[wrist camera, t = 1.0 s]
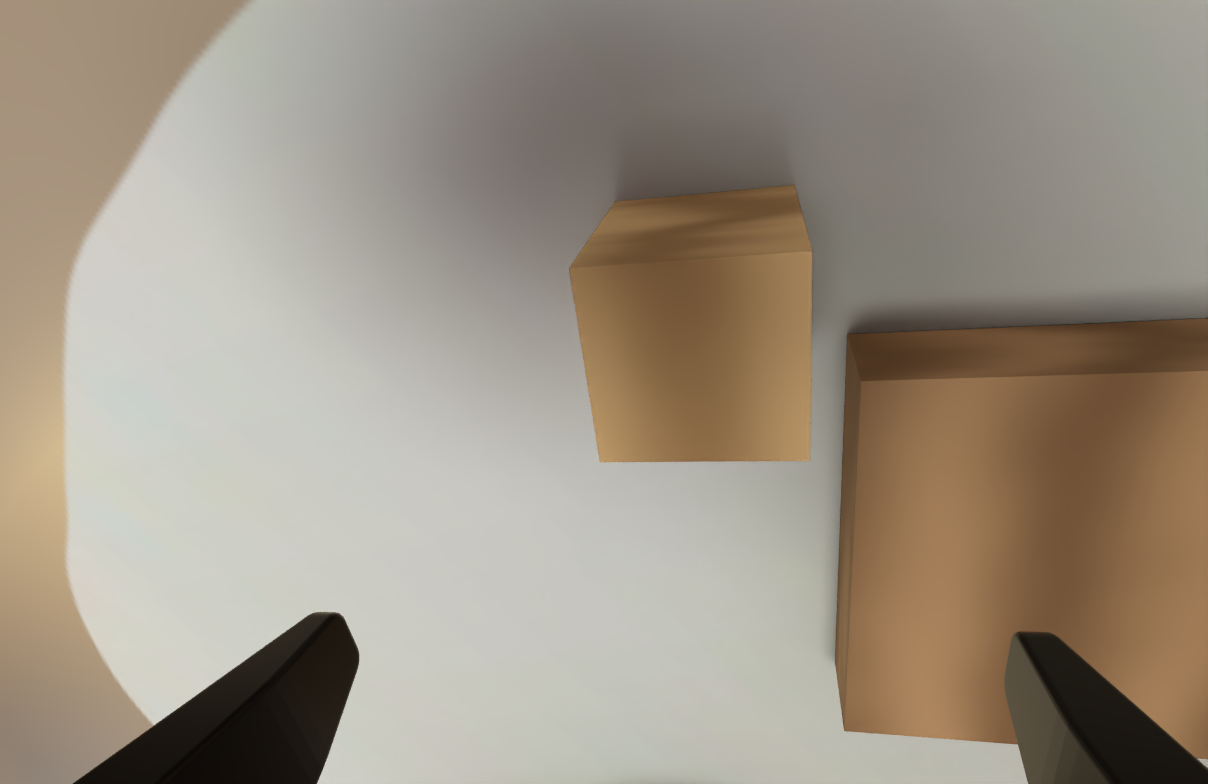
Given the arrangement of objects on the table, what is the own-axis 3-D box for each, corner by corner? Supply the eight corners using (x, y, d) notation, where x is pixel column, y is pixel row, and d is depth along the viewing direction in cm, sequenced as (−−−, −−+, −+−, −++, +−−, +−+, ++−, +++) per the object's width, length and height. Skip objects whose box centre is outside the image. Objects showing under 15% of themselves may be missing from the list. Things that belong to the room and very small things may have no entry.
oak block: (794, 184, 19) (812, 250, 14) (794, 350, 21) (809, 461, 16) (615, 201, 20) (568, 268, 15) (634, 356, 22) (600, 462, 17)
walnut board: (1335, 312, 18) (1435, 363, 15) (1191, 681, 24) (1244, 762, 22) (847, 334, 20) (861, 381, 18) (835, 661, 27) (844, 730, 24)
